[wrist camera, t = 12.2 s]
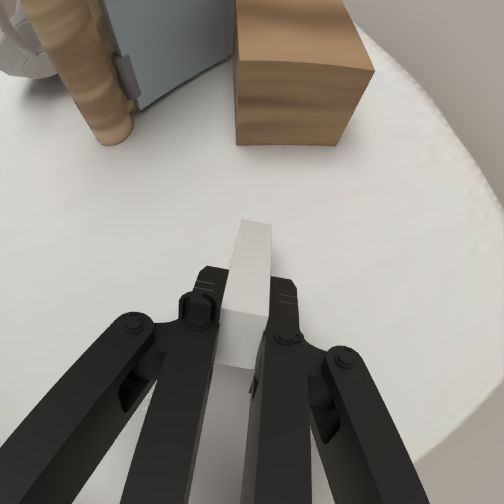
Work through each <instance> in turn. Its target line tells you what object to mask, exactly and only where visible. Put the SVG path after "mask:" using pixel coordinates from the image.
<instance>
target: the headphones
mask: <svg viewBox="0 0 504 504" xmlns="http://www.w3.org/2000/svg"><path fill="white" fill-rule="evenodd" d="M0 29H1V32H0V70H2V71H3V72H5V73H6V74H8V75H11V76H19V77H28V78H33V79H41V78H47V77H50V76H53V75H56V74H57V71H56V69H55V68H54V66H53V64H52V62H51V60H50V59H49V57H48V55H47V53H46V51H45V49H44V48H43V46H42V44H41V42H40V40H39V38H38V36H37V34H36V32H35V31H34V29H33V27H32V25H31V23H30V21H29V19H28V17H27V15H26V13H25V11H24V9H23V7H22V5H21V3H20V0H17V6H16V14H14V15H13V16H12V17H10V18H9V17H8V15H7V13H6V11H5V9H4V6H3V4H2V0H0Z"/></svg>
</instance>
